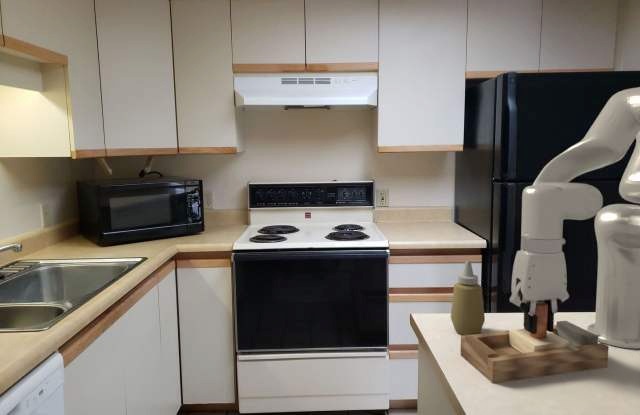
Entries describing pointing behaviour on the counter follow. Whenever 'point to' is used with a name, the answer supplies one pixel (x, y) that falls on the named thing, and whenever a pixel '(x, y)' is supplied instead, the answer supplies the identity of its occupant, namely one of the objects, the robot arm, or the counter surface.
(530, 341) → the carriage
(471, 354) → the base
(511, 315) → the counter surface
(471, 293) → the squeeze bottle
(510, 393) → the counter surface
